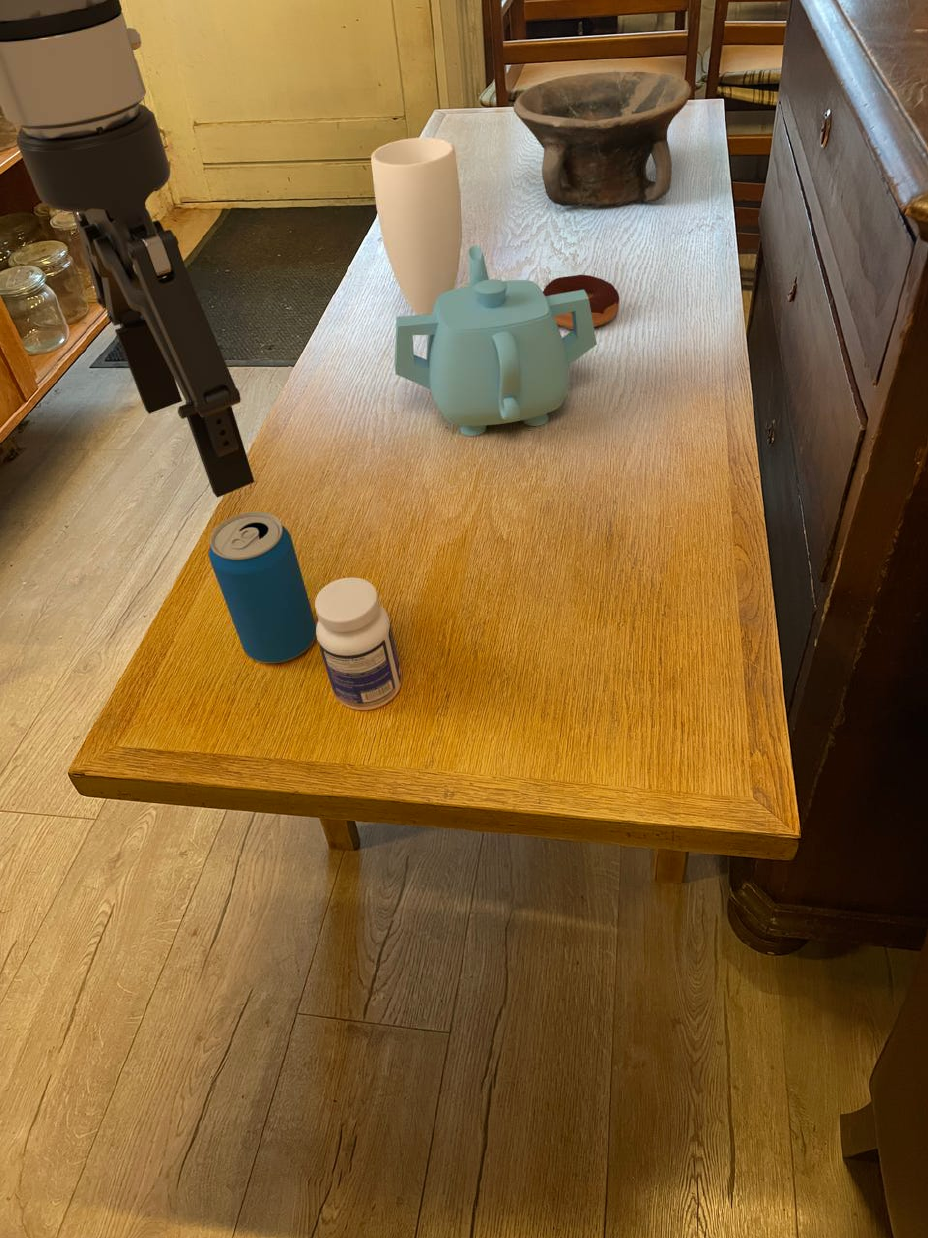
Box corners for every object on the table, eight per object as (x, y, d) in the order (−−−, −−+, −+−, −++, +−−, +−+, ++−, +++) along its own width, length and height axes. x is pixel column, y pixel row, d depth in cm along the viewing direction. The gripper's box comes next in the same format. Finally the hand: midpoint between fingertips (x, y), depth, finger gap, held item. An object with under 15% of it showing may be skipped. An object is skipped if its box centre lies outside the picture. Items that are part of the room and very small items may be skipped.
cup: (489, 327, 114) (477, 147, 99) (425, 357, 110) (402, 174, 95) (440, 303, 121) (422, 129, 106) (377, 330, 117) (349, 154, 101)
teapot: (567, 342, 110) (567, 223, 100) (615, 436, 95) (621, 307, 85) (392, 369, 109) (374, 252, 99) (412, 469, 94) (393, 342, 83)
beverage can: (333, 630, 77) (304, 521, 69) (285, 679, 74) (249, 571, 65) (277, 606, 80) (243, 499, 72) (228, 652, 76) (186, 545, 68)
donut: (628, 327, 112) (629, 296, 109) (551, 339, 111) (551, 308, 108) (606, 293, 119) (607, 263, 116) (534, 304, 118) (533, 274, 115)
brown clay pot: (527, 167, 156) (524, 69, 145) (682, 162, 151) (690, 61, 140) (507, 228, 137) (501, 121, 127) (683, 224, 132) (692, 113, 122)
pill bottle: (349, 654, 75) (327, 566, 68) (412, 666, 73) (396, 577, 66) (321, 706, 71) (294, 618, 64) (387, 719, 70) (367, 631, 63)
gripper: (234, 147, 42) (322, 504, 57) (83, 63, 58) (183, 361, 73) (79, 191, 40) (214, 553, 54) (-35, 90, 55) (94, 393, 70)
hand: (196, 444), depth 64 cm, fingers open, 13 cm apart
